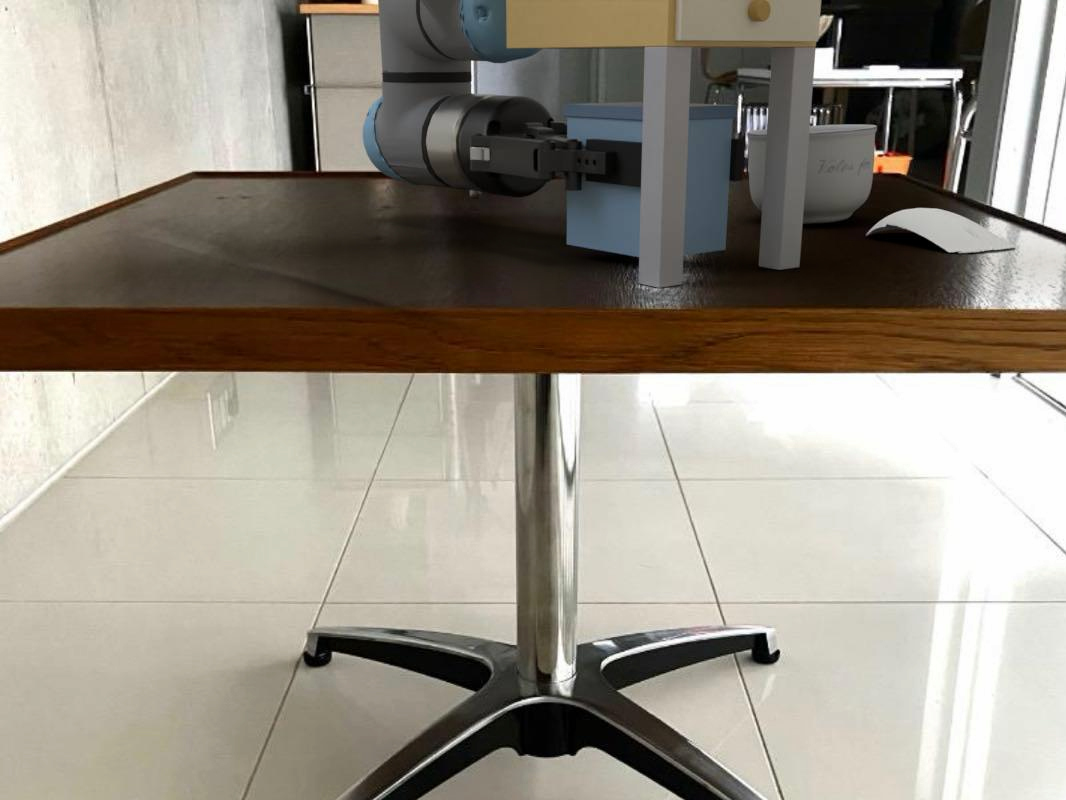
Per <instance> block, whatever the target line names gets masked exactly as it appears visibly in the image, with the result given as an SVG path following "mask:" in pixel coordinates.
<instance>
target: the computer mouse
mask: <svg viewBox="0 0 1066 800" xmlns="http://www.w3.org/2000/svg"><path fill="white" fill-rule="evenodd" d="M894 230H895V231H896V230H907V231H910V232H912V233H915V234H917V235H918V236H920V237H923V238H925V239H927V240H928V241H930V242H932V243H933V244H935V245H936V246H938V247H939V248H941V249H943V250H944V251H946V252H948V253H956V252H957V253H958V254H969V253H970V254H971V253H980V252H986V251H993V250H994V251H1001V250H1006V249H1013V248H1015V249H1016V246H1015V245H1013V243H1010V242H1009V241H1007V240H1005V239H1004V238H1003V237H1001V236H999V235H998V234H996V233H994V232H993V231H990V230H989V229H987V228H986V227H984V226H982V225H981V224H978V223H977V222H975V221H974V220H971V219H969V218H968V217H965V216H963V215H960V214H958V213H955V212H953V211H952V212H951V211H950V210H949V211H948V210H946V209H945V210H944V209H940V208H931V207H915V208H906V209H900V210H898V211H896V212H893V213H891V214H889V215H887V216H885V217H884V218H882V219H880V220H879V221H878V222H877V223H876V224H874V225H873V226H872V227H871V228H870V229H869V230H868V231H867V232H866V234H865V237H867V236H870V235H871V234H874V233H879V232H886V231H894Z"/></svg>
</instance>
